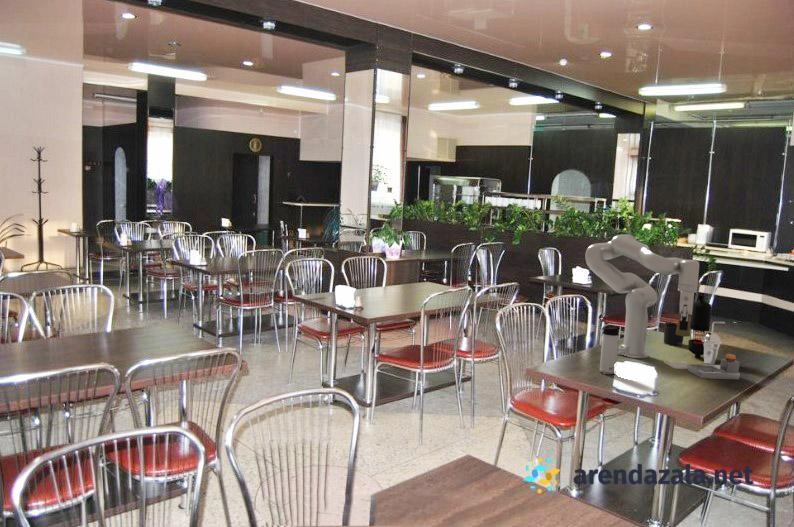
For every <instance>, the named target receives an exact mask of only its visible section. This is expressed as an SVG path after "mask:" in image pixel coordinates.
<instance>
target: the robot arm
mask: <svg viewBox="0 0 794 527" xmlns="http://www.w3.org/2000/svg"><path fill="white" fill-rule="evenodd" d="M584 255H585V259H584V260H585V263H586V265H587V267H588V268H589V270H590V271H592V272H593V273H594V274H595V275H596V276H597V277H598V278H599V279H601V280H602V281H603V282H604V283H605V284H606V285H608V287H610V288H611V289H612V290H613V291H614V292H616V293H618V294H626V296H625V299H624V300H625V319H624V320H625V322H624V334H623V335H624V336H623V343H621V344H620V345H618V348H617V352H618V351H619V353H618V354H619V355H620V356H623V355H624V356H623V357H626V356H627V358H633V359H646V358H648V357H649V353H648V352H646V343H647V342H646V341H647V333H648V332H647V330H648V320H649V319H648V317H649V316H648V308H649V307H652V306H653V305H655V304H656V303H657V301H658V293H657V291H656V290H655V289H654V288H653V287H652V286H650V284H648V283H647V282H646V281H645V280H643V279H642V278H641V277H640V276H638V275H637V274H635V273H632V272H622V271H621V270H619V269H618V268H617V267H615V266H614V265H613V264H611V263H610V262H608V260H612V259H616V258H617V257H621V256H624V257H627V258H629V259H631V260H633V261H636V262H638V263H639V264H640V265H642V267H645V268H646V269H648V270H650V271H652V272H655V273H657V274H660V275H662V276H669V275H670V276H671V275H678V285H677V291H678V292H680V293H679V294H680V296H679V311H680V314H681V321H680V326H679V329H680V330H685V331H687V328H688V313H689V314H690V315H692V311H693V303H694V302H695V301H694V300H695V299H694V298H695V293H697V291H698V283H699V272H700V262H699V260H695V259H683V258H680V257H676V256H675V257H665V256H661V255H660V254H657V253H654V252H653V251H651V249H650V247H649V246H648V245H647V244H645V243H643V242H641V241H638V240H637V239H636V238H635V237H634V236H633V235H631V234H616V235H615V236H613V237H612V239H611V240H610V241H607V242H597V243H592V244H591V245H589V246H588V247H587V248H586V250H585V254H584ZM681 311H682V312H683V314H682V312H681ZM686 313H687V314H686ZM682 315H683V316H682Z"/></svg>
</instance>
